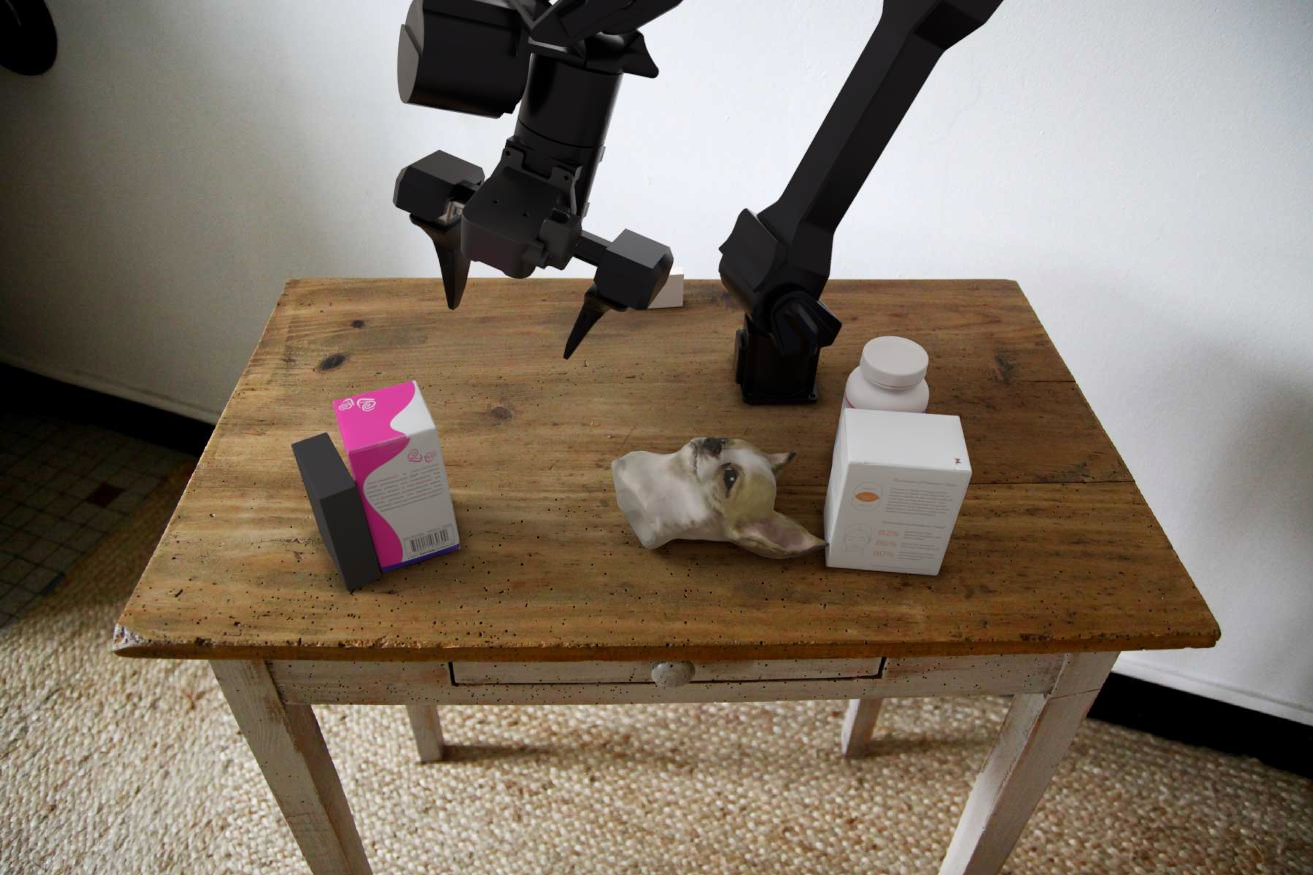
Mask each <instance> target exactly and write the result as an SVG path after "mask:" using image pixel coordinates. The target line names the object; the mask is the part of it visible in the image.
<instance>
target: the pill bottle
mask: <svg viewBox="0 0 1313 875" xmlns="http://www.w3.org/2000/svg"><path fill="white" fill-rule="evenodd" d="M928 365H929V354H928V353H927V351H926V349H924V348H923V347H922V346H921V345H920V344H919V343H917V342H915V341H913V340H911V339H909V338H905V337H902V336H897V335H895V336H894V335H884V336H878V337H875V338H872V339H870V340H869V341H868V342H867V343H865V345H864V347H863V349H862V353H861V357H860V360H859V365H858V366H857V367H856V368H854V369H853V370H852V371H851V373H850V374H849V376H848V377H847V379H846V380H847V381H846V384H845V387H844V393H843V398H842V404H841V410H840V413H839V414H840V415H839V420H838V425H837V429H836V430H837V431H836V436H835V441H834V446H833V451H832V452H833V453H832V460H833V459H834V455H835V450H836V445H837V440H838V435H839V430H840V425H841V420H842V415H843V411H844V409H845V408H854V409H868V410H881V411H895V412H909V413H923V414H926V412H927V407H928V405H929V398H930V389H929V386H928V383H927V381H926V379H925V377H926V376H927V369H928Z"/></svg>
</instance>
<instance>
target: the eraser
mask: <svg viewBox="0 0 1313 875" xmlns="http://www.w3.org/2000/svg"><path fill="white" fill-rule="evenodd" d="M684 282H685V272H684V269H683V267H682V266H681V267H680V266H679V267H672V268H671V271H670V274H669V277H668V280H667V282H666V284H665V285H664V287H663V288H662V289H661V291H660V292H659V294H658V295H657V296H656V298H655V299H654V300H653V302H652V303H651V305H650V306H649V307H648V309H661V308H675V307H677V308H678V307H683V303H684V284H685V283H684Z"/></svg>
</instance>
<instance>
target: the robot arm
mask: <svg viewBox="0 0 1313 875" xmlns="http://www.w3.org/2000/svg"><path fill="white" fill-rule="evenodd" d="M550 1H551V0H412V1H411V2H410V5H409V7H408V10H407V13H406V18H405V22H404V23H401V25H400V29H399V36H398V44H397V45H398V46H397V56H396V58H397V60H396V78H397V89H398V95H399V99H400V101H401V103H403V104H405V105H411V106H416V107H422V108H428V109H434V110H439V111H446V112H452V113H457V114H463V115H469V116H475V117H480V118H481V117H482V118H486V119H492V120H498V119H500V118H501V117H502V116H503V115H504V114H507V115H513V114H514V112H515V111H516V108H517V105H518V104H520V105H519V108H518V114H517V118H516V122H515V126H514V131H513V135H511V136H509V137H508V138H506V139H505V144H504V147H503V148H502V151H501V156H500V159H499V161H498V162H497V164H496V166H495V168H494V169H493V171H492V172H491V174H490V176H489V177H488V178H486V174H485V171H484V169H483V167H482V166H479V165H477V164H475V163H472V162H470V161H467V160H465V159H463V158H460V157H458V156H456V155H453V154H452V153H448V152H446V151H444V150H442V149H437V150H435V151H433V152H432V153H430V154H428V155H426V156H423V157H421V158H420V159H418V160H416V161H414V162H412V163H410V164H409V165H406V166H405V167H403V168H401V169H400V171H399V173H398V175H397V176H396V178H395V184H394V190H393V194H392V195H393V197H392V203H393V205H394V206H395V208H397V209H399V210H402V211H404V212H407V213H408V219H409V220H410V222H411V224H413V225H414V226H417V228H418V227H419V229H421V230H422V231H423V232H424V233H425V235H427V237H429V238H430V240H431V242H432V244H433V246H434V249H435V254H436V257H437V260H438V263H439V268H440V272H441V273H440V275H441V279H442V285H443V288H444V294H445V299H446V303H447V304H446V305H447V308H448V309H449V310H451V311H455V310H456V309H457V308H459V306H460V304H461V301H462V298H463V296H464V292H465V290H466V286H467V283H468V278H469V273H470V268H471V263H472V262H474V263H478V262H479V263H482V264H484V265H486V266H489V267H491V268H493V269H496V270H498V271H500V272H502V273H503V275H505V277H506V276H507V277H508V278H511V279H513V280H514V279H515V280H524V279H527V278H530V277H531V276H532V275H533V274H534V272H535V271H536V269H537V268H539V269H541V270H545V269H546V268H548V267H551V268H554V269H556V270H559V271H564V270H565V269H566V268H567V266H568V265H569V264H570V262H571V260H572V259H573V258H574V259H576V260H579V261H582V262H584V263H586V264H589V265H591V266H594V267H596V270H595V273H594V276H593V279H592V281H593V282H594V283H593V284H592V285H590V287H589V288H588V289H587V290H586V291H585V292H584V294H583V295H584V296H583V304H582V306H581V308H580V311H579V313H578V315H577V318H576V319H575V322H574V324H573V327H572V329H571V331H570V333H569V336H568V338H567V341H566V343H565V346H564V351H563V355H562V358H563V359H564V360H566V361H568V360H569V359H570V358H571V357H572V356H573V354H574V353H575V351H576V350H577V349H578V348H579V346H580V345H581V344H582V342H583V341H584V340H585V339H586V337H587V336H588V335H589V333H590V332H591V330H592V329H593V328H594V326H595V325H596V324H597V322H598V321H599V320H601V319H602V317H603V316H605V315H606V314H607V313H608V312H609V311H610V310H612V311H615V312H617V313H625V312H627V311H628V310H630V309H632V310H635V311H647V310H649V308H648V307H649V306H650V305H651V303H652V302H653V300H654V299H655V298H656V296H657V295H658V294H659V292H660V291H661V289H662V288H663V287H664V285H665V284H666V282H667V280H668V277H669V274H670V271H671V268H673V265H674V261H675V257H674V255H673V251H672V249H671V247H670V246H669V245H666V244H664V243H662V242H659V241H657V240H655V239H652V238H649V237H648V236H645V235H643V234H641V233H638V232H635V231H633V230H632V229H629V228H624V229H623V230H622V231H621V233H620V234H618V235H617V236H616V237H615V239H613V240H612V241H611V240H608V239H606V238H604V237H601V236H599V235H596V234H594V233H592V232H590V231H587V230H585V229H583V225H582V224H583V221H584V219H585V218H586V217H587V215H588V212H589V208H590V204H591V202H589V199H590V196H591V192H592V189H593V185H594V182H595V178H596V174H597V171H598V169H599V168H598V167H599V165H600V163H601V162H603V158H604V155H605V151H606V148H607V146H605V143H606V139H607V135H608V133H609V129H610V125H611V121H612V119H613V118H612V117H613V114H614V111H615V107H616V104H617V100H618V97H619V93H620V90H621V86H622V83H623V79H624V75H625V74H628V75H633V76H637V77H642V78H647V79H650V80H651V79H656V78H658V76H659V74H660V69H659V67H658V66H657V64H656V62H655V61H654V59H653V57H652V56H651V54H650V52H649V49H648V47H647V44H646V39H645V34H643V32H642V31H641V30H640V28H642V27H644V26H645V25H647V24H649V23H652V21H654V20H656V19H658V18H660V17H662V16H663V15H665V14H667V13H668V12H670V11H672V10H674V9H676V8H677V7H679V6H680V5H682V3H683V2H684V1H685V0H556V1H554V3H553V4H552V2H550ZM1004 1H1005V0H883V1H882V11H881V15H880V18H879V20H878V22H877V25H876V26H875V28H874V30H873V32H872V33H871V35H870V37H869V39H868V41H867V42H866V44H865V46H864V48H863V50H862V52H861V53H860V54H859V57H858V59H857V60H856V62H855V64H854V66H853V68H852V69H851V71H850V73H849V74H848V76H847V78H846V80H845V81H844V83H843V85H842V87H841V88H840V90H839V92H838V93H837V95H836V97H835V100H834V101H833V102H832V104H831V106H830V108H829V110H828V111H827V113H826V115H825V116H824V119H823V121H822V123H821V125H819V128H818V130H816V131H817V132H815V135H814V137H813V139H812V140H811V141H810V144H809V146H808V147H807V149H806V151H805V153H804V155H803V156H802V158H801V160H800V162H799V163H798V165H797V167H796V169H795V170H794V173H793V174H792V176H791V178H790V180H789V181H788V182H787V185H786V186H785V188H784V190H783V192H782V194H781V195H780V196H779V198H778V199H777V200H776V201H775V202H773V203H772V204H770V205H769V206H767V207H765V208H764V209H762V210H760V211H759V212H758V213H756V212H755V211H753V210H751V209H749V208H747V207H744V208H743V209H742V210H741V211H740V212H739V214H738V216H737V218H736V221H735V223H734V226H733V228H732V231H731V233H730V234H729V235H728V237H727V239H725V241H724V242H723V243H722V244H721V245H720V246H719V247H718V248H717V249H718V251H719V252H720V254H721V258H720V259H719V260H720V261H719V263H718V269H717V271H718V272H717V273H719V277H720V281H721V284H722V286H724V288H725V289H726V290H727V292H728V293H729V294H730V296H731V297H732V298H733V299H734V300H735V302H736V303H737V304H738V305H739V307H740V308H741V309H742V310H743V312H744V317H743V325H742V328H737V330H736V331H735V338H734V339H735V341H734V349H733V357H732V358H733V360H732V370H733V377H734V383H735V384H736V385H737V386H739V390H740V396H741V401H742V402H743V403H745V404H815V403H817V402H818V401H819V393H818V389H817V386H816V378H817V372H818V367H819V361H820V355H821V350H822V348H827V347H831V346H832V345H833V344H834V342H835V340H836V339H837V337H838V335H839V333H840V331H841V329H842V327H843V323H842V321H840V319H839V318H838V317H837V316H836V315H835V314H834V312H832V311H831V309H829V307H828V306H827V305H826V304H825V303H824V301H822V300H821V296H822V294H823V292H824V290H825V287H826V286H827V283H828V281H829V278H830V276H831V269H832V268H831V267H832V257H833V249H834V238H835V233H836V231H837V229H838V227H839V225H840V224H841V222H842V220H843V218H845V215H846V214H847V212H848V211H849V209H850V207H851V206H852V204H853V203H854V201H855V199H856V197H857V195H858V194H859V192H860V190H861V189H862V187H863V186H864V184H865V183H866V181H867V179H868V177H869V176H870V175H871V173H872V172H873V169H874V167H875V166H876V164H877V163H878V161H879V159H880V158H881V156H882V154H883V153H884V151H885V150H886V148H887V146H888V145H889V143H890V141H891V139H892V138H893V136H894V134H895V133H896V131H897V130H898V128H899V126H900V125H901V123H902V122H903V120H904V118H905V117H906V115H907V113H908V111H909V110H910V108H911V107H912V105H913V103H914V101H915V100H916V98H917V97H918V95H919V93H920V91H921V90H922V89H923V87H924V85H925V83H926V82H927V80H928V78H929V77H930V75H931V74H932V72H933V71H934V68H935V67H936V65H937V64H938V62H939V60H940V59H941V58H942V56H943V55H944V53H945V52H946V51H948V50H949V49H951V48H952V47H953V46H955V45H956V44H958V43H959V42H961V41H962V40H964V39H966V38H967V37H968V36H970V35H971V34H972V33H974V32H976V31H978V29H980V28H981V27H983V26H984V25H985V24H987V23H988V21H989V20H990V19H991V17H992V16H993V15H994V14H995V12H996V11H997V10H998V9H999V7H1000V6H1001V5H1002V4H1003V2H1004Z"/></svg>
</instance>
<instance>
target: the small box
mask: <svg viewBox="0 0 1313 875" xmlns="http://www.w3.org/2000/svg"><path fill="white" fill-rule="evenodd" d="M972 475H973V471H972V466H971V462H970V457H969V452H968V449H967V443H966V441H965V436H964V431H963V427H962V422H961V419H960V416H959V415H950V414H936V413H925V414H923V413H909V412H895V411H881V410H868V409H854V408H845V409H844V411H843V415H842V420H841V425H840V430H839V435H838V440H837V445H836V450H835V455H834V459H833V458H832V466H831V471H830V476H829V481H828V486H827V490H826V496H825V500H824V501H825V503H824V506H823V535H824V537H823V538H824V541H826V542H828V543H829V546H827V547H825V548H824V556H825V566H826V567H828V568H841V569H851V570H852V569H854V570H864V571H865V570H866V571H875V572H876V571H877V572H886V573H887V572H889V573H900V574H914V575H926V576H938V575H939V572H940V569H941V566H942V563H943V560H944V557H945V554H946V552H947V549H948V546H949V542H950V539H951V536H952V533H953V530H954V528H955V524H956V522H957V519H958V515H959V513H960V510H961V507H962V504H963V502H964V499H965V496H966V493H967V490H968V487H969V484H970V481H971V478H972Z"/></svg>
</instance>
